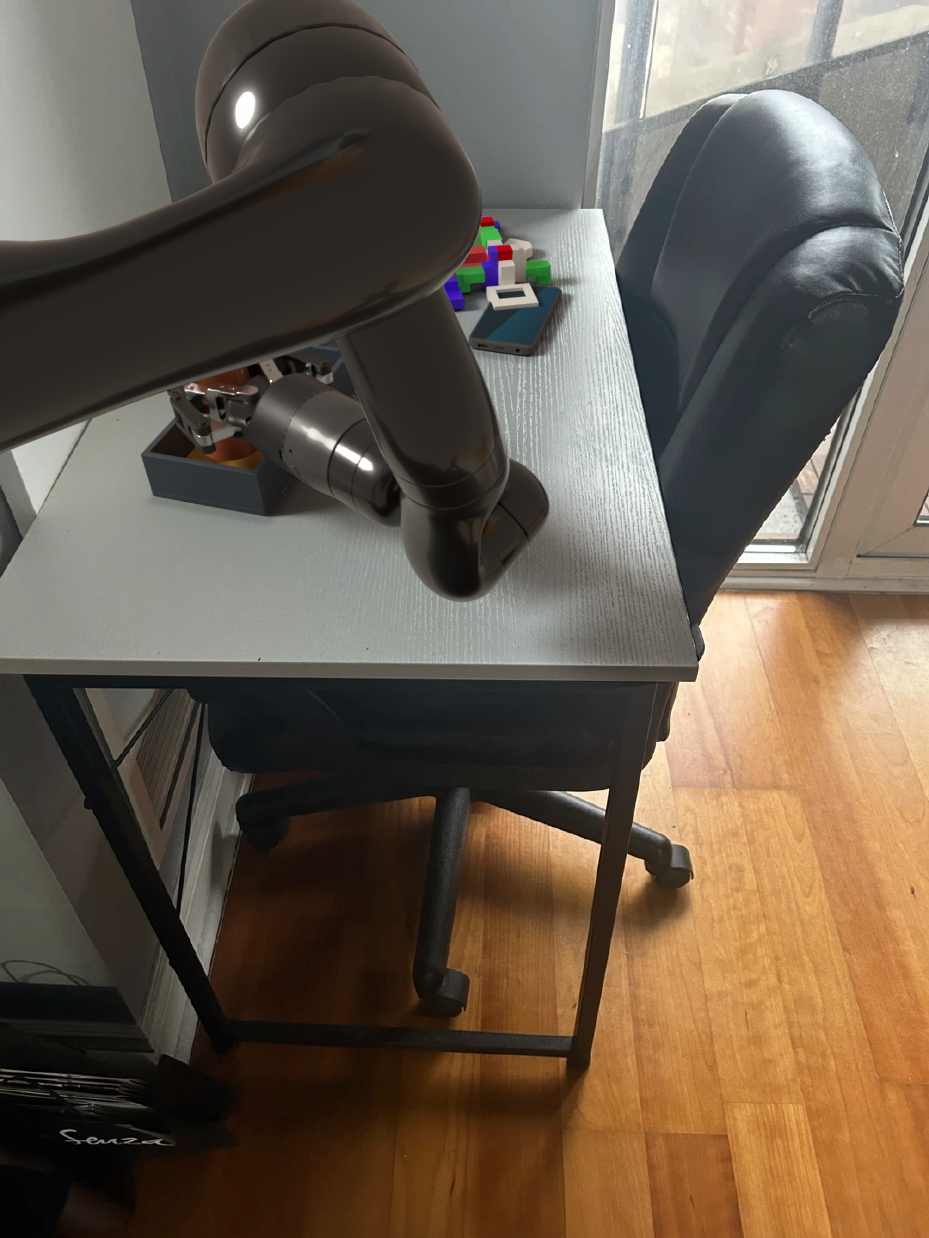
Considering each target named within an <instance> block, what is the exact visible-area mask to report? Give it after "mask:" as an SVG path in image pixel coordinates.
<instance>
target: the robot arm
mask: <svg viewBox="0 0 929 1238" xmlns="http://www.w3.org/2000/svg"><path fill="white" fill-rule="evenodd" d="M197 74H198V75H197V79H196V80H197V82H196V85H195V92H194V103H195V106H194V107H195V111H194V112H195V127H196V133H197V137H198V143H199V147H200V152H201V157H202V161H203V163H204V167H205V170H206V173H207V175H208V177H209V180H210V182H211V184H210V185H208V186H207V187H205V188H203V189H201V190H199V191H197V192H194V193H192V194H189V195H187V196H186V197H184V198H182V199H178V200H177V201H174V202H172V203H169V204H166V205H164V206H161V207H159V208H155V209H154V210H151V211H149V212H146V213H144V214H141V215H138V216H137V217H133V218H131V219H128V220H126V221H124V222H121V223H117V224H116V225H112V226H109V227H106V228H102V229H99V230H95V231H92V232H88V233H84V234H78V235H73V236H68V237H63V238H52V239H51V238H50V239H41V240H39V239H37V240H9V239H0V455H2V454H5V453H7V452H10V451H12V450H14V449H18V448H19V447H22V446H24V445H26V444H29V443H33V442H35V441H38V440H39V439H43V438H45V437H48V436H50V435H53V434H55V433H58V432H60V431H64V430H66V429H68V428H71V427H73V426H76V425H79V424H81V423H84V422H87V421H89V420H90V421H91V420H92V419H95V418H98V417H101V416H102V415H105V414H108V413H111V412H113V411H116V410H118V409H121V408H123V407H125V406H129V405H132V404H134V403H137V402H140V401H142V400H145V399H147V398H151V397H153V396H156V395H159V394H162V393H165V392H166V393H167V395H168V396H169V402H170V406H171V407H172V411H173V414H174V418H176V419H175V420H176V424H177V426H178V427H179V428H180V430H181V431H182V432H183V433H184V434H185V435H186V436H187V437H188V438H189V439H190V440H191V442H192V443H193V444H194V445H195V446H196V447H197V448H198V449H199V450H200V451H201V452H202V453H203V454H211V453H213V452H215V451H216V446H215V442H218V441H220V440H223V439H225V438H228V437H233V438H234V439H237V440H243V441H247V442H250V443H251V444H252V445H253V446H254V447H255V448H256V449H257V450H258V451H259V452H260V453H261V454H262V455H263V456H264V457H265V458H267V459H268V460H270V461H271V462H273V463H274V464H276V465H278V466H279V467H281V468H282V469H284V470H286V471H287V472H289V473H290V474H292V475H294V478H296V479H298V480H300V481H301V482H302V483H304V484H306V485H307V486H309V487H311V488H313V489H314V490H316V491H318V492H319V493H321V494H323V495H326V496H328V497H331V498H333V499H336V500H338V501H340V502H341V503H342V504H344V505H346V506H347V507H349V508H351V509H352V510H354V511H355V512H356V513H358V514H360V515H361V516H363V517H365V518H367V519H368V520H370V521H371V522H373V523H375V524H376V525H378V526H380V527H384V528H386V529H392V530H393V529H394V530H395V529H397V530H398V529H400V534H401V542H402V546H403V550H404V553H405V556H406V558H407V561H408V562H409V565H410V567H411V568H412V570H413V572H414V574H415V575H416V576H417V578H418V579H419V580H420V581H421V583H423V585H424V586H426V588H428V590H430V591H431V592H433V593H434V594H436V595H437V596H439V597H440V598H442V599H445V600H446V601H447V600H448V601H451V602H456V603H470V602H473V601H474V602H475V601H477V600H481V599H483V598H484V597H485V596H487V595H489V593H490V592H492V591H493V589H495V588H496V587H497V585H498V584H499V583H500V582H501V580H502V579H503V578H504V576H505V575H506V574H507V573H508V572H509V570H510V569H511V568H512V567H513V566H514V564H515V563H516V562H517V560H519V558H520V557H521V556H522V555H523V553H524V552H525V551H527V549H528V547H529V546H530V545H531V544H532V543H533V541H534V540H535V539H536V538H537V536H538V535H539V534H540V533H541V531H542V530H543V529H544V527H545V526H546V523H547V522H548V520H549V516H550V513H551V512H550V511H551V508H550V507H551V503H550V499H549V495H548V492H547V490H546V488H545V485H544V484H543V483H542V481H541V480H540V479H539V477H538V476H537V475H536V474H535V473H534V472H533V471H532V470H531V469H530V468H529V467H527V466H526V465H524V463H521V462H520V461H518V460H516V459H514V458H512V457H510V456H509V455H510V454H509V450H508V447H507V444H506V439H505V436H504V432H503V429H502V424H501V422H500V419H499V416H498V413H497V408H496V406H495V404H494V401H493V397H492V394H491V393H490V389H489V387H488V384H487V382H486V379H485V376H484V374H483V372H482V370H481V369H482V368H481V367H480V365H479V362H478V360H477V357H476V355H475V354H474V352H473V349H472V347H471V346H470V345H469V339H468V338H467V336H466V334H465V331H464V330H463V327H462V325H461V323H460V320H459V319H458V317H457V315H456V311H455V309H453V307H452V305H451V303H450V301H449V298H448V296H447V293H446V291H445V288H444V286H443V285H444V284H445V283H446V282H447V281H448V280H449V279H450V278H451V276H452V275H453V274H454V273H455V272H456V271H457V270H458V269H459V268H460V266H461V265H462V264H465V263H464V261H465V260H466V258H467V256H468V254H469V253H470V251H471V249H472V247H473V245H474V243H475V242H476V239H477V235H478V231H479V228H480V224H481V220H482V216H483V212H484V210H483V209H484V208H483V207H484V206H483V194H482V189H481V185H480V182H479V179H478V177H477V174H476V171H475V168H474V165H473V164H472V161H471V159H470V158H469V156H468V154H467V152H466V150H465V149H464V147H463V145H462V143H461V142H460V140H459V138H458V136H457V134H456V133H455V131H454V130H453V127H452V126H451V123H450V122H449V121H448V119H447V117H446V115H445V114H444V112H443V110H442V108H441V107H440V106H439V104H438V102H437V100H436V99H435V97H434V95H433V94H432V92H431V91H430V89H429V87H428V85H427V84H426V82H425V80H424V78H423V76H421V74H420V72H419V70H418V68H417V67H416V65H415V64H414V62H413V60H412V59H411V58H410V56H409V54H407V52H406V50H405V49H404V48H403V46H402V44H401V43H400V41H399V40H398V39H397V37H396V36H395V35H393V33H392V32H391V31H389V29H387V27H385V25H384V24H382V23H381V21H380V20H379V19H377V18H376V16H375V15H374V14H372V13H371V12H370V11H369V10H368V9H366V8H364V7H363V6H362V5H360V4H358V3H356V2H355V1H353V0H248V1H246V2H244V3H243V4H242V5H240V6H238V8H237V9H236V10H234V11H233V13H232V14H231V15H230V16H229V17H228V18H226V19H225V21H223V22H222V23H221V24H220V26H219V28H218V29H217V31H216V33H215V34H214V36H212V38H211V40H210V42H209V44H207V48H206V51H205V53H204V56H203V58H202V61H201V63H200V66H199V69H198V73H197ZM333 340H334V341H335V343H336V346H337V348H338V350H339V352H340V355H341V357H342V360H343V362H344V364H345V367H346V369H347V372H348V374H349V376H350V379H351V381H352V384H353V386H354V389H355V391H354V392H355V394H356V396H357V399H358V400H356V399H354V398H352V396H351V397H349V396H347V395H345V394H343V393H342V392H340V391H338V390H336V389H334V381H333V374H332V367H331V361H329V360H327V359H324V358H321V357H318V356H315V355H312V354H309V353H306V352H303V351H301V350H304V349H307V348H311V347H314V346H317V345H320V344H324V343H327V342H330V341H333ZM290 361H292V362H293V363H294V365H295V368H294V367H291V362H290ZM247 366H248V368H249V373H250V377H251V379H250V380H249V381H248V382H246V383H244V384H241V385H237V386H235V385H230V384H225V383H219V382H215V383H213V384H212V385H211V386H208V385H203V384H197V383H195V382H197V381H200V380H203V379H207V378H210V377H213V376H216V375H220V374H223V373H226V372H230V371H233V370H236V369H240V368H243V367H247ZM202 398H205V399H206V400H207V401H208V403H209V405H205V404H204V403H203V399H202ZM224 398H226V400H224Z"/></svg>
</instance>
